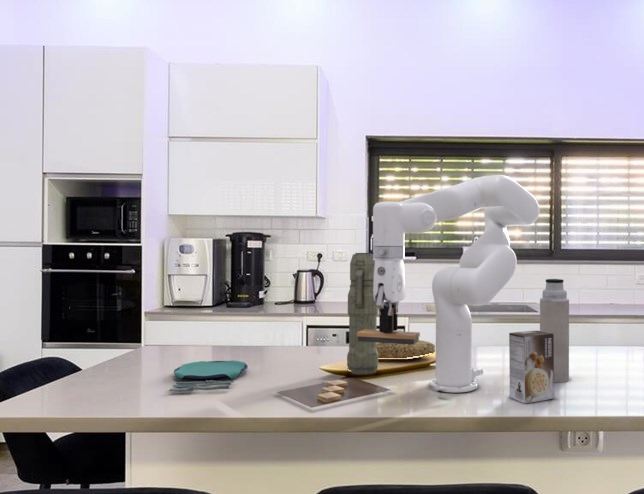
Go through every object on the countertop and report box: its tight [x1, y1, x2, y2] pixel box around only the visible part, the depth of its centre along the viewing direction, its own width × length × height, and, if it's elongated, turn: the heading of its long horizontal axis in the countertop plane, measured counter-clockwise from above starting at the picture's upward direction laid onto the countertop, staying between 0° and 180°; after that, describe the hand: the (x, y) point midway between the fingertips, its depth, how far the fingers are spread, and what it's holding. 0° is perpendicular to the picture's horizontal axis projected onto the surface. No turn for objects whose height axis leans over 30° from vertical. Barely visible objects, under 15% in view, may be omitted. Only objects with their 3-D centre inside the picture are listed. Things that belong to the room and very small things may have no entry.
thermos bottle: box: [539, 278, 570, 383], centre depth 156 cm, size 8×8×28 cm
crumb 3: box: [317, 392, 341, 403], centre depth 131 cm, size 4×4×1 cm
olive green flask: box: [346, 252, 379, 375], centre depth 160 cm, size 9×12×35 cm
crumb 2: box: [322, 385, 344, 394], centre depth 137 cm, size 4×4×1 cm
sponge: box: [376, 339, 436, 361], centre depth 181 cm, size 13×8×20 cm
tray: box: [276, 376, 391, 409], centre depth 139 cm, size 23×17×1 cm
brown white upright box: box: [508, 330, 555, 404], centre depth 136 cm, size 9×6×16 cm
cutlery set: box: [168, 359, 248, 393], centre depth 154 cm, size 20×30×2 cm, turn 9°
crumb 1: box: [325, 379, 348, 387], centre depth 143 cm, size 4×4×1 cm
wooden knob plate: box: [357, 307, 421, 345], centre depth 132 cm, size 4×14×8 cm, turn 73°
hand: (388, 330), depth 132 cm, fingers closed on wooden knob plate, 2 cm apart
